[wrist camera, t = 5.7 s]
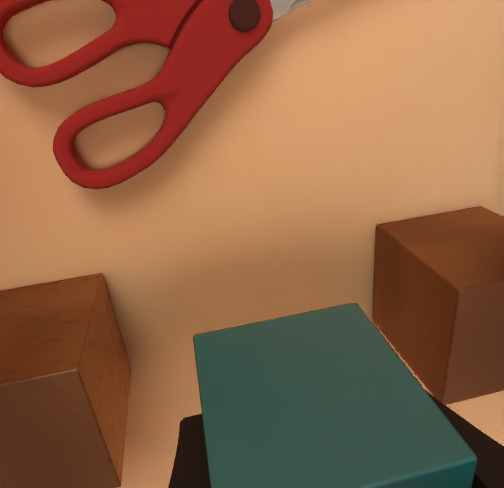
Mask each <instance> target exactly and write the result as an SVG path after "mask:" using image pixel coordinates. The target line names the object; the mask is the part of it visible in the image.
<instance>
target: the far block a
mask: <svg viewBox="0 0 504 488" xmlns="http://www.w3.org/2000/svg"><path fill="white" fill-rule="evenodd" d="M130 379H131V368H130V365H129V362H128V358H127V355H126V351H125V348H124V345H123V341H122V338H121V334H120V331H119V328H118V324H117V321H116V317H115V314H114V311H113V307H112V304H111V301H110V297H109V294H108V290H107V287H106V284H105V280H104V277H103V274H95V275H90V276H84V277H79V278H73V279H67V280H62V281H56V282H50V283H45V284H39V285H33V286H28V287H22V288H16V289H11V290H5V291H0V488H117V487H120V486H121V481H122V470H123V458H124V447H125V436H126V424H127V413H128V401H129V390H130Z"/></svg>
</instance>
